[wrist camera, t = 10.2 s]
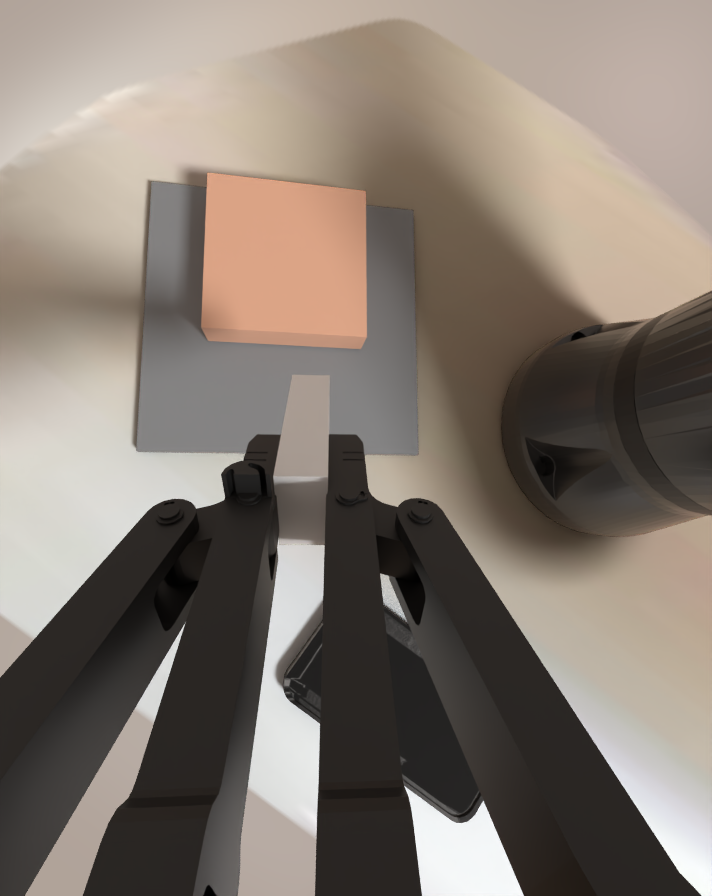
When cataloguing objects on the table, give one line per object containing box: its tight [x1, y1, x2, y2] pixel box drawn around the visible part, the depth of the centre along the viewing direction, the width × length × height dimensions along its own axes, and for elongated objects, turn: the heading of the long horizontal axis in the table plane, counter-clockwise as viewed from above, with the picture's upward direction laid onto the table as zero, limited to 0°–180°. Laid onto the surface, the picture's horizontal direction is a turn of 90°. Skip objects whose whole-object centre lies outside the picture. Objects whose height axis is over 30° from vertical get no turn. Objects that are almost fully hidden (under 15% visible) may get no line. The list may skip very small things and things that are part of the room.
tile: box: [201, 173, 367, 349], centre depth 27 cm, size 10×2×10 cm
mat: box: [136, 181, 418, 455], centre depth 28 cm, size 18×18×1 cm
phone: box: [283, 607, 483, 823], centre depth 27 cm, size 8×1×15 cm
